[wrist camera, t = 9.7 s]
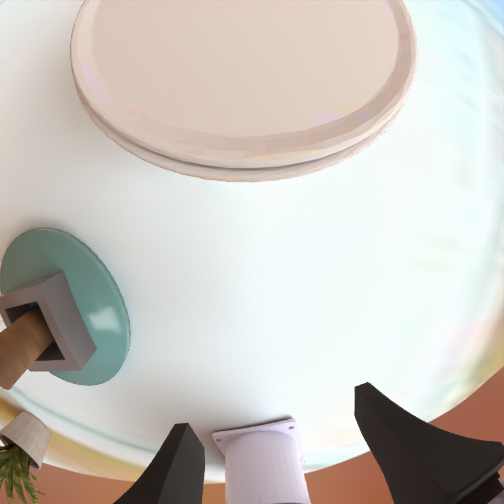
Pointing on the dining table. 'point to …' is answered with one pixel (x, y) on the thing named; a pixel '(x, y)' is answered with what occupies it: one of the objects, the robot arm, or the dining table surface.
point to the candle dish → (67, 305)
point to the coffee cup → (243, 81)
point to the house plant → (22, 454)
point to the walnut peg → (22, 345)
